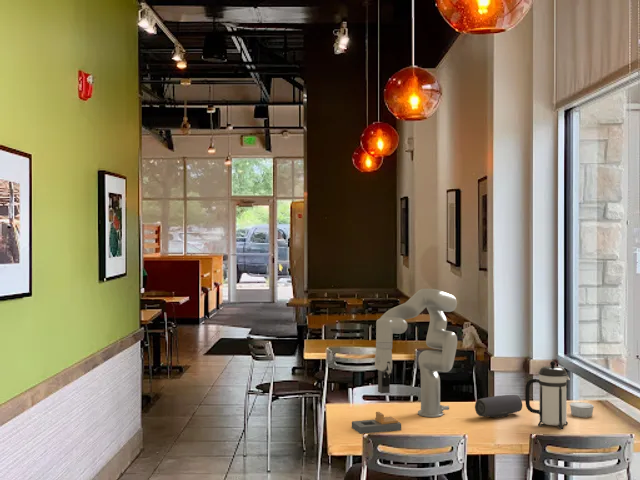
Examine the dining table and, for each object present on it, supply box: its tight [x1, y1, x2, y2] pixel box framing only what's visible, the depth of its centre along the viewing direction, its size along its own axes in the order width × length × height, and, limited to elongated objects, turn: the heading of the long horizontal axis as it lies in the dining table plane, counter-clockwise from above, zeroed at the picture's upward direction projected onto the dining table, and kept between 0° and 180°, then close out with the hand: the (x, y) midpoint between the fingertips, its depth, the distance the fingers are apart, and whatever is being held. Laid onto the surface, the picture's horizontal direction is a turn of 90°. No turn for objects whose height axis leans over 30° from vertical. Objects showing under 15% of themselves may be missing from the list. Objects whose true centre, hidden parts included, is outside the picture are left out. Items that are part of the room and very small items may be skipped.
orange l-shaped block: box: [374, 411, 399, 424], centre depth 329 cm, size 8×8×4 cm
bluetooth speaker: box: [474, 394, 523, 418], centre depth 351 cm, size 23×9×10 cm, turn 115°
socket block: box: [351, 418, 402, 435], centre depth 328 cm, size 20×11×3 cm, turn 108°
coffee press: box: [524, 361, 571, 431], centre depth 333 cm, size 17×16×30 cm
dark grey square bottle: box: [377, 370, 391, 394], centre depth 329 cm, size 4×4×12 cm
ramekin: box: [569, 401, 595, 418], centre depth 353 cm, size 11×11×5 cm
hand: (383, 385), depth 329 cm, fingers closed on dark grey square bottle, 4 cm apart
